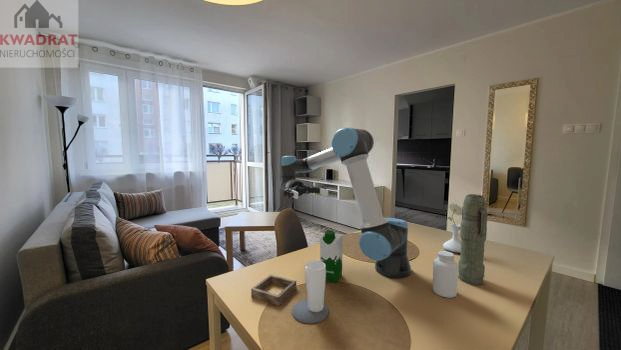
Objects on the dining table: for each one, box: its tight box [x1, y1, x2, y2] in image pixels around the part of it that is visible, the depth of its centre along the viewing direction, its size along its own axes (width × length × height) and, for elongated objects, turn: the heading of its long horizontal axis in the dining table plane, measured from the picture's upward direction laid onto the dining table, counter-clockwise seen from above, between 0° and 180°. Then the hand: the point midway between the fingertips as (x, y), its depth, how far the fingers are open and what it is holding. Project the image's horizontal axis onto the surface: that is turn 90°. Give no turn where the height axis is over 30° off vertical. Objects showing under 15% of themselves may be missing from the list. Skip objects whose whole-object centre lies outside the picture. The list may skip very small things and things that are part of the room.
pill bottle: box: [432, 250, 459, 299], centre depth 92 cm, size 8×8×15 cm
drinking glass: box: [304, 260, 327, 312], centre depth 82 cm, size 7×7×15 cm
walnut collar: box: [250, 274, 297, 307], centre depth 93 cm, size 12×12×3 cm
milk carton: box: [319, 230, 344, 284], centre depth 103 cm, size 9×9×20 cm
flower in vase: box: [442, 202, 462, 254], centre depth 132 cm, size 13×11×25 cm
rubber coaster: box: [291, 298, 329, 325], centre depth 82 cm, size 12×12×1 cm
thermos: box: [457, 193, 489, 286], centre depth 100 cm, size 9×12×35 cm
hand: (312, 194), depth 102 cm, fingers open, 13 cm apart
